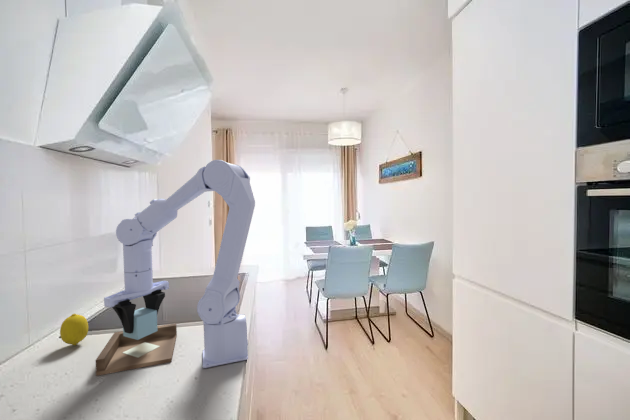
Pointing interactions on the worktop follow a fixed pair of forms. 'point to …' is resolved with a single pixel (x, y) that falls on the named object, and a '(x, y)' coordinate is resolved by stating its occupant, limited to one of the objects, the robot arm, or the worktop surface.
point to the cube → (143, 323)
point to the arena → (137, 351)
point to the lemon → (74, 329)
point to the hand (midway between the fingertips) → (140, 327)
